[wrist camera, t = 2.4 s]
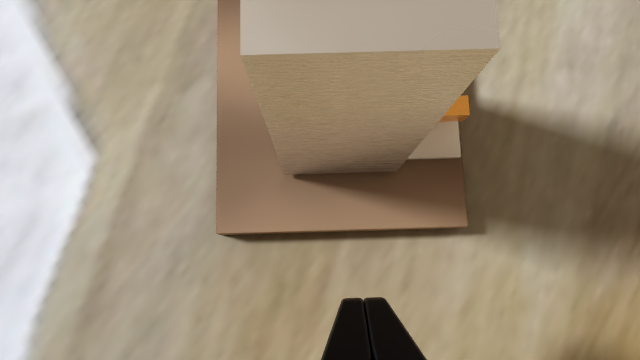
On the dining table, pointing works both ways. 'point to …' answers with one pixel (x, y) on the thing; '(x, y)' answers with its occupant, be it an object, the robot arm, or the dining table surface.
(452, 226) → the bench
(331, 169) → the pale grey block
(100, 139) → the dining table surface
